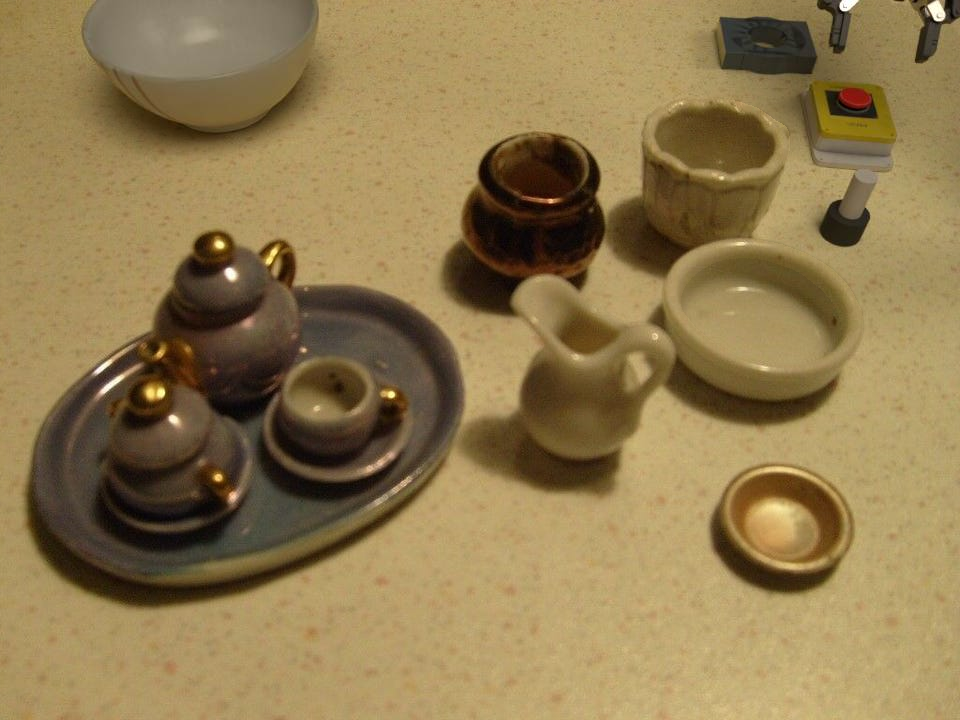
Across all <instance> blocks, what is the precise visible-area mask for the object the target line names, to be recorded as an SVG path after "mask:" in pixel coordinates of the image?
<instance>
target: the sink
mask: <svg viewBox="0 0 960 720" xmlns="http://www.w3.org/2000/svg"><path fill="white" fill-rule="evenodd" d="M715 39H716V45H717V49H718V50H717V51H718V55H719V56H718V57H719V62H720V65H721V69H722V70H738V71H740V70H742V71H750V72H753V73H755V74H760V75H761V74H763V75H779V74H785V73H792V74H804V75H805V74H808V75H812V74H813V72H814V68H815V66H816V62H817V61H818V55H817V50H816V47H815V45H814V41H813V38H812V35H811V32H810V27H809V25H808V22H807V21H803V20H788V19H787V20H785V19H778V18H775V17H770V16H750V17H729V16H719V17H718V21H717V25H716V28H715ZM756 43H763V44H769V45H771V46H773V47H769V46H762V45H758V44H756Z"/></svg>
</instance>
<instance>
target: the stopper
mask: <svg viewBox="0 0 960 720" xmlns="http://www.w3.org/2000/svg"><path fill="white" fill-rule="evenodd" d="M878 181H879V176H878V174H877V173H876V171H871V170H869V169H858V170H856V169H855V171H854V172H853V175H852V177H851V179H850V182H849V184H848V187H847V189H846V191H845V193H844V195H843V197H842V199H836V200H834V201H832V202H831V203H829V206H828V208H827V210H826V211H825V212H826V213H825V215H824V217H823V219H822V222H821V224H820V226H819V232H820V234H821V235H820V236H822V238H824V239H825V241H827V242H828V243H830V244H832V245H835V246H839V247H852V246H855V245H857V244H858V243H859V242H861V239H862V237H863V235H864V232H865V230H866V228H867V227H868V224H869V222H870V220H871V213H870V211H869V210H868V208H867V207H866V206H867V203H868V202H869V199H870V197H871V195H872V193H873V191H874V189H875V186H876V185H877V183H878Z"/></svg>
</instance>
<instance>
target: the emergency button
mask: <svg viewBox="0 0 960 720" xmlns="http://www.w3.org/2000/svg"><path fill="white" fill-rule="evenodd" d="M800 102H801V103H800V104H801V107H802V112H803V117H804V123H805V127H806V132H807V133H806V134H807V138H808V143H809V148H810V154H811V158H812V162H813V163H814V164H815V165H816V166H818V167H823V168H834V169H847V170H855V171H856V170H858V169H869V170H871V171H873V172H881V173H889V172H891V171H892V170H893V167H894V165H895V162H894V158H893V154H892V151H893V148H894V146H895V143H896V140H897V137H898V133H897V129H896V126H895V123H894V120H893V117H892V113H891V109H890V106H889V103H888V100H887V96H886V94H885V90H884V88H883V87H882V85H879V84H875V83H861V82H851V81H850V82H849V81H836V80H825V79H814V80H812V81H811V82H810V84H809V86H808V89H805V90H804V91H802V93H801V96H800Z"/></svg>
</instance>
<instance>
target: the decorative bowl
mask: <svg viewBox="0 0 960 720" xmlns="http://www.w3.org/2000/svg"><path fill="white" fill-rule="evenodd" d="M319 19H320V9H319V2H318V0H95V1H94V2H93V3H92V4H91V6H90V7H89V9H88V10H87V12H86V14H85V15H84V17H83V20H82V24H81V38H82V39H81V40H82V42H83V45H84V47H85V49H86V51H87V53H88V54H89V56H90V57H91V59H92V60H93V62H94V63H95V64H96V66H97V67H98V68H99V69H100V71H101V72H102V73H103V74H104V75H105V77H106V78H108V80H109V81H110V82H111V83H112V84H114V86H115V87H116V88H117V89H118V90H119V91H121V92H122V93H123V94H124V95H125V96H126V97H128V98H129V99H131V100H132V101H133V102H134V103H136V104H138V105H139V106H141V107H142V108H144V109H145V110H147V111H148V112H151V113H152V114H155V115H157V116H159V117H161V118H164V119H166V120H170V121H172V122H176V123H179V124H182V125H184V126H186V127H188V128H189V129H192V130H195V131H199V132H204V133H211V134H213V133H215V134H216V133H218V134H219V133H229V132H230V133H231V132H234V131H239V130H242V129H245V128H248V127H250V126H252V125H254V124H256V123H258V122H259V121H261V120H262V119H263V118H264V117H266V116H267V115H268V113H270V111H271V109H272V108H273V107H274V106H275V105H277V104H279V102H281V101H282V100H283V99H284V98H286V96H287V95H288V94H289V93H290V92H291V90H292V89H294V87H295V86H296V84H297V82H298V81H299V79H300V78H301V76H302V75H303V73H304V71H305V69H306V68H307V65H308V63H309V60H310V58H311V55H312V52H313V50H314V46H315V42H316V37H317V35H318V28H319Z"/></svg>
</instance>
